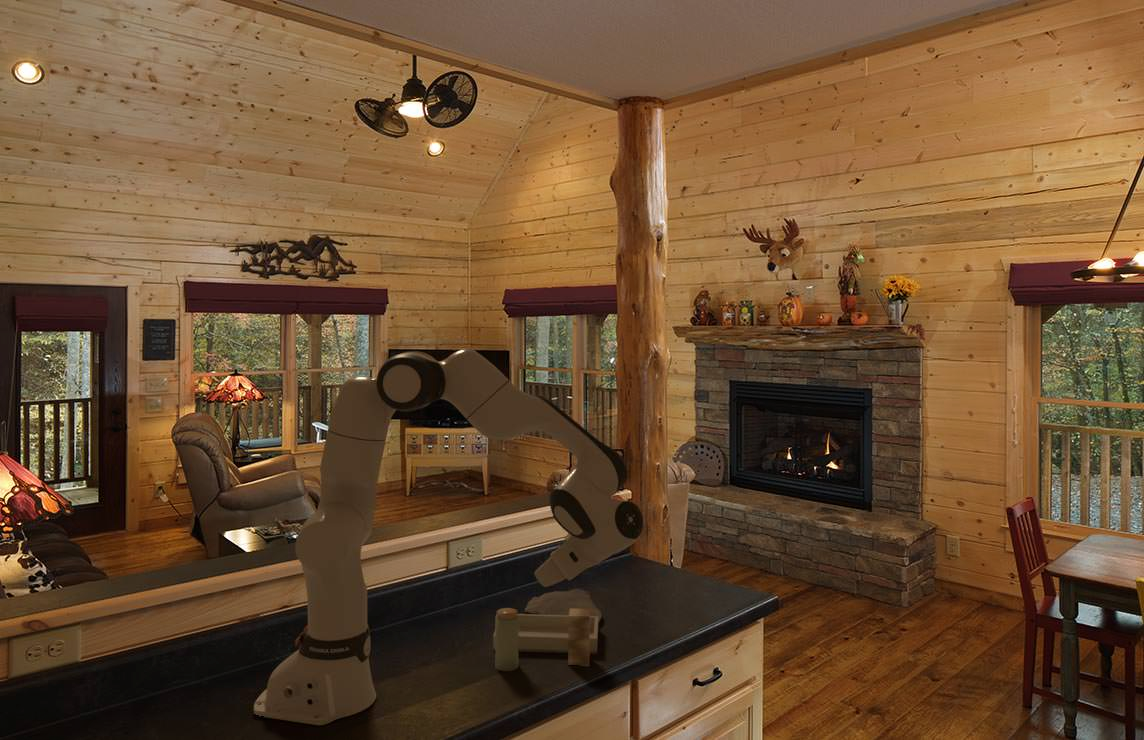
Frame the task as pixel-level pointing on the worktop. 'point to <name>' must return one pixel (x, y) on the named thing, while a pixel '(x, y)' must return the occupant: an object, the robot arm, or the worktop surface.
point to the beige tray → (549, 633)
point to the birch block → (579, 637)
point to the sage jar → (506, 639)
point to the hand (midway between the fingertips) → (559, 558)
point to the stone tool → (562, 603)
